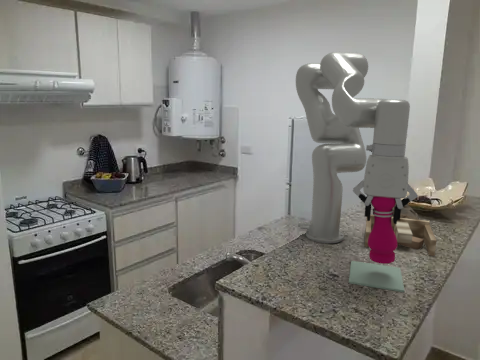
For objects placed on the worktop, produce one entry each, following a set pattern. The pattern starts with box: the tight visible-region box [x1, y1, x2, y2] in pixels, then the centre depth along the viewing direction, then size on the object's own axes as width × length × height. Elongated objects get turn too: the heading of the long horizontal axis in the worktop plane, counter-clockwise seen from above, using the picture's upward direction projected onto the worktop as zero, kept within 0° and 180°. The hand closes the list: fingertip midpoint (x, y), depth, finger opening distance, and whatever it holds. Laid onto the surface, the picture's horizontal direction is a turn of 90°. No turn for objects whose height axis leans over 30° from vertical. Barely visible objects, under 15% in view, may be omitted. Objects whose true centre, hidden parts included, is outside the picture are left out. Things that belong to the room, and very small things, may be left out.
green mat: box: [348, 260, 405, 293], centre depth 98 cm, size 13×13×1 cm
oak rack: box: [364, 214, 437, 257], centre depth 121 cm, size 20×16×6 cm
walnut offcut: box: [394, 232, 424, 251], centre depth 121 cm, size 12×4×3 cm, turn 45°
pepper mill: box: [368, 196, 398, 265], centre depth 95 cm, size 7×7×20 cm
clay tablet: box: [392, 203, 420, 220], centre depth 148 cm, size 14×5×20 cm
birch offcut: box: [394, 221, 413, 244], centre depth 120 cm, size 12×4×3 cm, turn 163°
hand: (381, 220), depth 94 cm, fingers closed on pepper mill, 5 cm apart
